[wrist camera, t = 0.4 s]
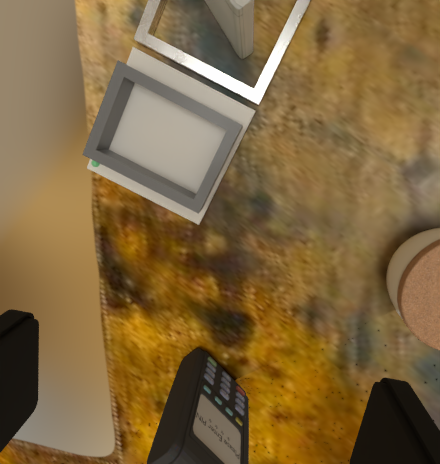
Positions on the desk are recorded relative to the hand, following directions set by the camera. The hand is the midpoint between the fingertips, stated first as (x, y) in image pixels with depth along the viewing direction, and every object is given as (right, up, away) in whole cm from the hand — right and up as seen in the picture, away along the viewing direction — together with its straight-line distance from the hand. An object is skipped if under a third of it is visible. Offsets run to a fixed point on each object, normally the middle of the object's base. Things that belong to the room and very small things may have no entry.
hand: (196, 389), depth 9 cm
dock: (-4, +14, +26) cm, 30 cm away
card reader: (0, -13, +32) cm, 35 cm away
